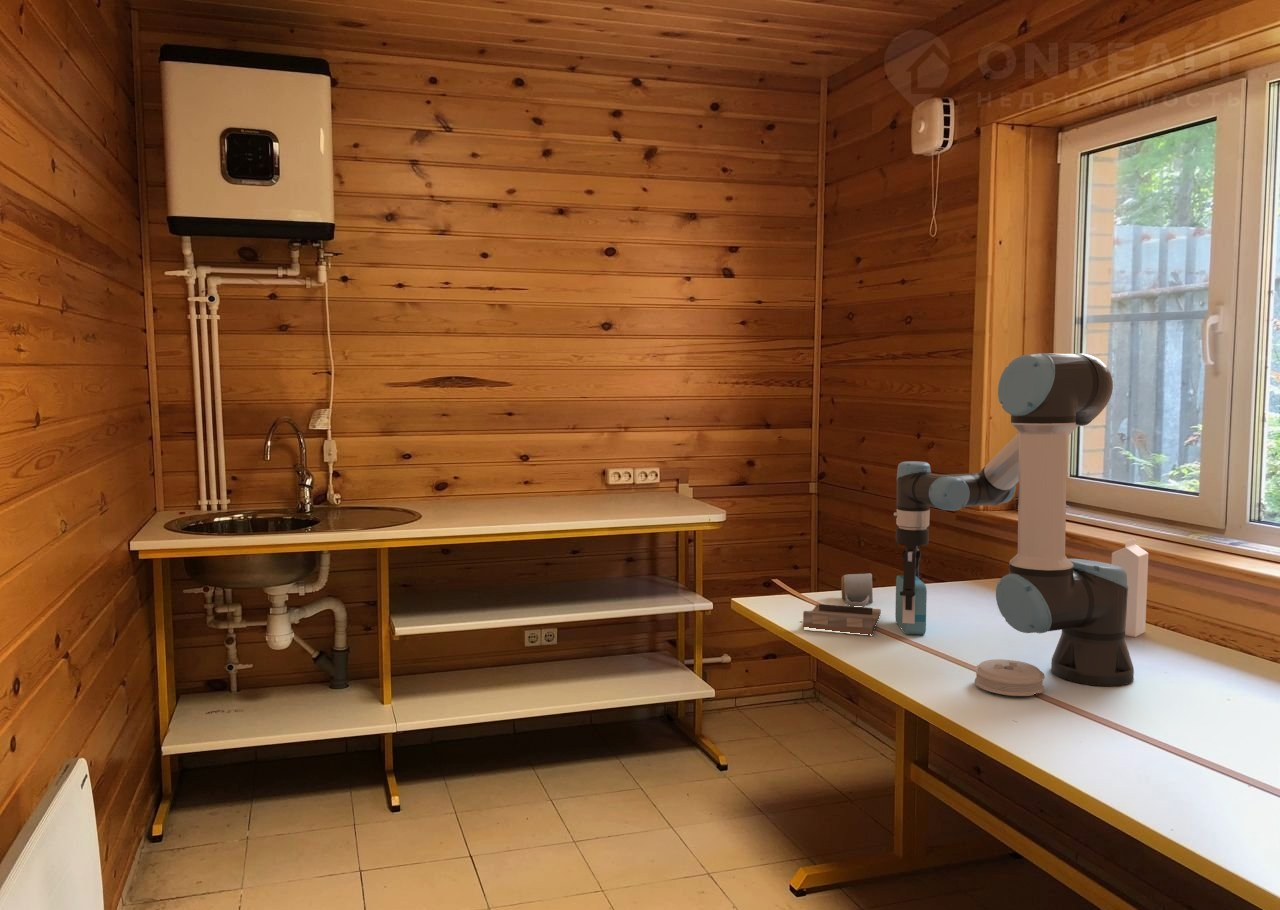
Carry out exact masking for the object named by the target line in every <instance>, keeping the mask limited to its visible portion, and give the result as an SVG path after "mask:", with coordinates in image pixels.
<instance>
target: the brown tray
mask: <svg viewBox="0 0 1280 910" xmlns="http://www.w3.org/2000/svg"><path fill="white" fill-rule="evenodd" d="M881 611H882V609H881V608H873V607H865V606H863V607H854V606H849V605H839V604H826V603H819V604H816V605H815V607H814V608H813V609H812V611H810V610H804V611H803V612H802V613H803V614H802V616H803V619H802V621H803V622H802V625H803V627H809V628H816V629H825V630H832V631H840V632H850V633H860V634H868V635H870V634H871V635H872V634H873V635H874V633H873V631H874V632H875V630H874V628H875V625H876V623H877V621H878V622H879V620H880V618H879V616H880V614H881ZM880 617H881V616H880ZM878 619H879V620H878ZM877 624H878V623H877ZM876 626H877V625H876ZM803 627H802V628H803ZM875 629H876V628H875ZM873 635H872V636H873Z"/></svg>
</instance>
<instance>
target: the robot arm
mask: <svg viewBox="0 0 1280 910" xmlns="http://www.w3.org/2000/svg"><path fill="white" fill-rule="evenodd" d="M1000 375H1001V376H1000V377H999V380H998V384H997V385H998V386H997V398H998V402H999V403H1000V404H1002V405H1001V408H1002V409H1003V410H1004V412H1006V414H1009V415H1010V425H1011V426H1012V427H1013V428H1015V429H1016V431H1017V432H1018V433H1017V434H1015V436H1013V438H1012V439H1011V440H1010V441H1009V442H1008V443H1007V444H1006V445H1004V447H1003V448H1002V449H1001V450H1000V451H999V452H998V453H996V455H995V456H994V457H993V458H992V459H991V460H990V461H989V462H988V463H987V464H986V465H985V466H983V468H981V470H980V471H978V472H971V473H970V472H968V473H957V474H956V473H955V474H953V473H952V474H937V473H933V472H932V471H931V465H930V464H929V463H928V462H926V461H914V460H911V461H901V462H900V463H898V466H897V471H896V472H897V473H896V479H895V480H896V511H895V512H893V516H894V517H896V519H895V520H896V521H895V523H896V525H897V527H896V528H895V542H896V543H897V544H898V545H902V546H903V545H904V546H906V548H905V549H903V551H902V560H903V561H902V567H903V568H902V569H903V575H904V579H903V591H902V592H900V595H901V596H903V618H902V623H910V624H915V579H916V576H917V577H918V578H919V579H920V580H921V581H922V582H923V578H922V577H920V564H921V559H922V551H921V550H920V547H924V546H926V545H928V544H929V542H930V539H929V538H930V529H929V528H928V527H929V526H930V515H931V514H930V513H931V509H930V507H932V508H937V509H939V510H942V511H952V512H954V511H955V512H956V511H959V510H962V508H965V507H967V508H968V507H975V506H976V507H977V506H998V505H1001V504H1006V503H1009V502H1010V501H1012V500H1013V498H1014V496H1015V493H1016V490H1017V486H1016V485H1017V484H1018V493H1017V496H1018V498H1017V500H1018V502H1017V503H1018V506H1017V508H1018V509H1017V512H1018V513H1017V515H1018V516H1017V517H1018V518H1017V553H1016V555H1014V556H1013V557H1012V558H1011V559H1010V560H1009V564H1008V566H1009V567H1008V568H1009V569H1008V571H1009V573H1008V574H1005V575H1004V576H1002V577H1001V578H1000V579H999V581H998V582H997V583H996V584H997V585H996V588H995V599H996V605H997V608H998V611H999V612H1000V614H1001V616H1002V617H1003V618H1004V619H1005V622H1006V624H1008V625H1009V626H1010V627H1011V628H1013V629H1014V630H1016V631H1017V632H1020V633H1023V634H1044V633H1045V634H1046V633H1047V632H1054V631H1060V630H1061V634H1060V637H1059V640H1058V642H1057V645H1056V647H1055V648H1054V649H1055V650H1054V652H1053V654H1052V656H1051V663H1050V664H1051V666H1050V669H1051V673H1052V674H1054V675H1056V676H1057V677H1059V678H1061V679H1064V680H1067V681H1069V682H1074V683H1079V684H1083V685H1090V686H1091V685H1092V686H1100V687H1101V686H1102V687H1117V686H1125V685H1128V684H1131V683H1132V682H1133V681H1134V679H1135V678H1134V675H1135V670H1134V665H1133V662H1132V658H1131V655H1130V652H1129V648H1128V645H1127V642H1126V635H1125V631H1126V613H1127V594H1128V586H1127V573H1126V571H1125V570H1124V569H1123V568H1121V567H1119V566H1116V565H1112V563H1107V562H1104V561H1103V562H1101V561H1097V560H1092V559H1089V560H1088V559H1082V558H1068V557H1067V555H1066V525H1067V524H1066V522H1067V520H1066V519H1067V518H1066V517H1067V516H1066V515H1067V513H1066V512H1067V464H1068V463H1067V458H1068V457H1067V456H1068V455H1067V454H1068V452H1067V451H1068V450H1067V449H1068V446H1067V445H1068V444H1067V443H1068V437H1069V436H1070V435H1071V434H1072V433H1074V431H1075V430H1076V429H1077V428H1078V427H1085V426H1087V425H1089V424H1090V423H1091V422H1092V421H1094V420H1095V419H1096V418H1097V417H1098V416H1099V415H1100V414H1101V412H1102V411H1104V409H1105V408H1106V407H1107V405H1108V404H1109V402H1110V400H1111V398H1112V394H1113V390H1114V382H1113V381H1114V380H1113V377H1112V374H1111V371H1110V370H1109V368H1108V366H1107V365H1106V364H1105V363H1104V362H1103V361H1101V360H1100V358H1097V357H1095V356H1093V355H1091V354H1086V353H1038V352H1037V353H1033V354H1032V353H1030V354H1023V355H1019V356H1017V357H1015V358H1013V359H1012V360H1011V361H1010V362H1009V363H1008V365H1007V366H1006V367H1004V369H1003V371H1002V372H1001V374H1000ZM907 589H909V590H907Z"/></svg>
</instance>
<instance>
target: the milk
mask: <svg viewBox="0 0 1280 910" xmlns="http://www.w3.org/2000/svg"><path fill="white" fill-rule="evenodd" d="M1136 543H1137V540H1136V537H1134V538H1130V539H1127V540H1125V545H1124V547H1123V548H1121V549H1118V550H1115V551H1113V552H1111V564H1112V565H1116V566H1119V567H1121V568H1123V569H1124V570H1125V571H1126V573H1127V586H1128V594H1127V613H1126V631H1125V636H1127V637H1132V638H1133V637H1134V638H1136V637H1139V636H1140V635H1143V634H1144V633H1146V621H1147V601H1148V600H1147V596H1148V595H1147V594H1148V573H1149V572H1148V571H1149V570H1148V569H1149V552H1148V551H1146V550H1145V549H1144V548H1142V547H1140V545H1137V544H1136Z"/></svg>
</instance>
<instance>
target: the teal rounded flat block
mask: <svg viewBox="0 0 1280 910" xmlns="http://www.w3.org/2000/svg"><path fill="white" fill-rule="evenodd" d="M903 579H904V574H903V575H897V576H896V579H895V613H894V614H895V623H896V622H897V623H898V625H899V626H900V627H901V628H902V629H901V628H900V627H899V626H898V627H899V628H900V629H901V631H902V630H903V631H904V632H905V633H906V634H905V633H904V632H903V631H902V632H903V633H904V634H905V635H922V634H924V635H925V634H926V631H927V599H928V598H927V597H928V596H927V592H928V591H927V585H926V584H925V583H924V582H923V580H922V581H921V580H920V579H919V578H918V577H917V576H916V579H915V624H910V623H902V618H903V596H901V595H900V592H902V591H903ZM907 590H909V589H907ZM897 623H896V624H897Z"/></svg>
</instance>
